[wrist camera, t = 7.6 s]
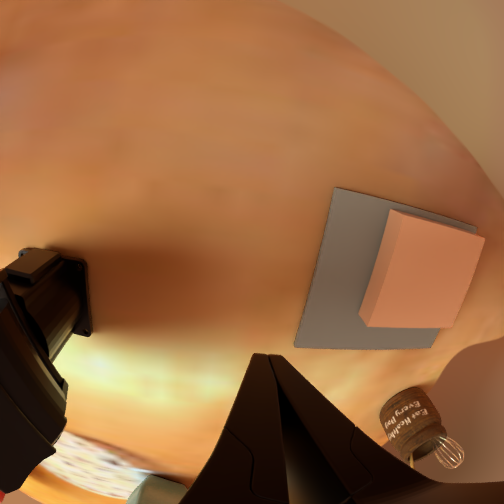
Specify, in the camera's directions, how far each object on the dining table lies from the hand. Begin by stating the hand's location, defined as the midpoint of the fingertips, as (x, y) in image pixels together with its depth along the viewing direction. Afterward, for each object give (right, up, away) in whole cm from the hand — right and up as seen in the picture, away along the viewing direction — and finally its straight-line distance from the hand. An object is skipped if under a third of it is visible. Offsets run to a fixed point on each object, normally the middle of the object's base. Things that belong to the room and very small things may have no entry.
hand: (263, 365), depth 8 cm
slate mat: (+11, +1, +13) cm, 17 cm away
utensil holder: (+16, -14, +18) cm, 28 cm away
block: (+8, +2, +10) cm, 13 cm away
